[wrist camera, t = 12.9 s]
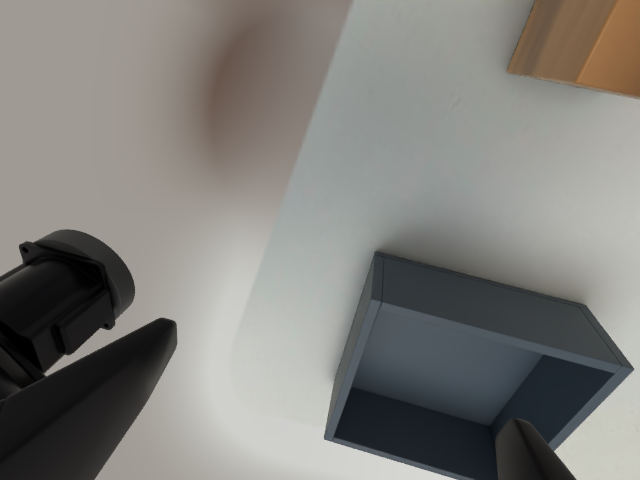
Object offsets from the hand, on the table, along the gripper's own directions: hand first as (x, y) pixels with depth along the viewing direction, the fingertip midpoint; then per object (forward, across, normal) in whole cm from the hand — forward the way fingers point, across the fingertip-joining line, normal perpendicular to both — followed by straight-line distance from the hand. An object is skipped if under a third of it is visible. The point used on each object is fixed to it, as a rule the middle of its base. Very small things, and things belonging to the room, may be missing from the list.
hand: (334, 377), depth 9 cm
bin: (+13, -8, +10) cm, 18 cm away
